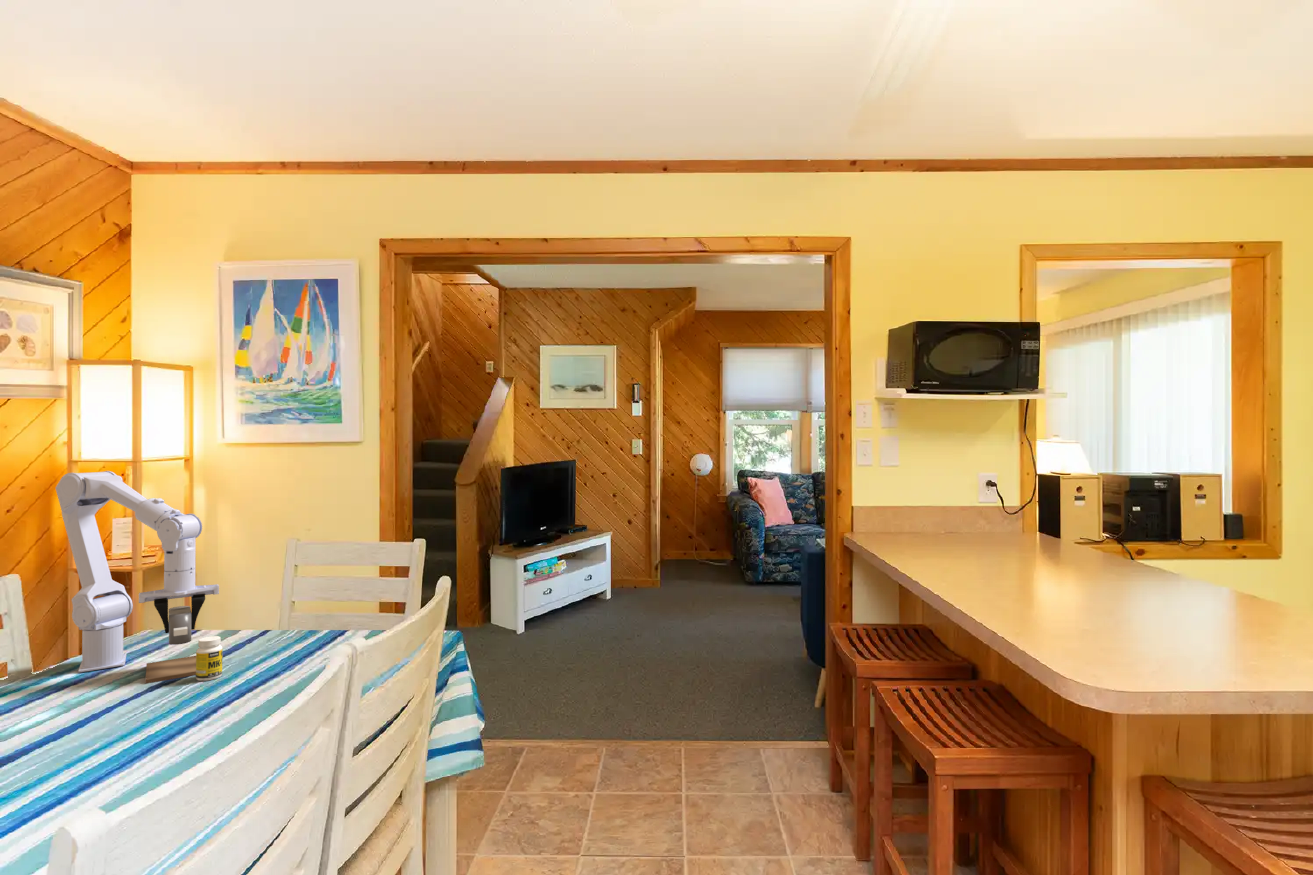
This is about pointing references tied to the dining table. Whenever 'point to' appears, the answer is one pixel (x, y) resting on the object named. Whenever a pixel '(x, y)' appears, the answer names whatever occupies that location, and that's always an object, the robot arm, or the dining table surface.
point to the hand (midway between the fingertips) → (179, 630)
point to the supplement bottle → (209, 658)
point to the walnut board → (170, 669)
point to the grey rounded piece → (179, 625)
